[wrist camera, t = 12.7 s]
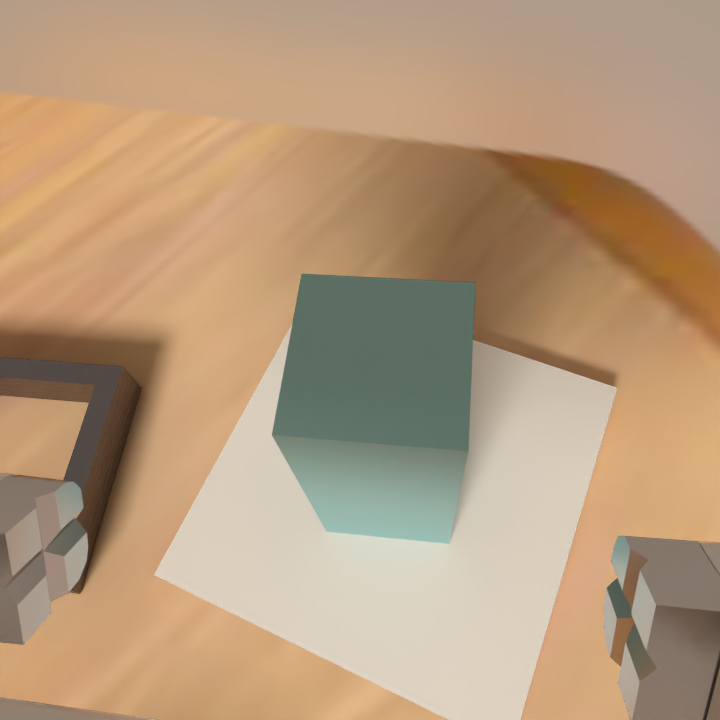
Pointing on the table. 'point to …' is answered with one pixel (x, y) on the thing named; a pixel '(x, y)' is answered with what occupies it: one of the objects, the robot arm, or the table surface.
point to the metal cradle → (83, 424)
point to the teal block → (379, 402)
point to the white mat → (410, 545)
